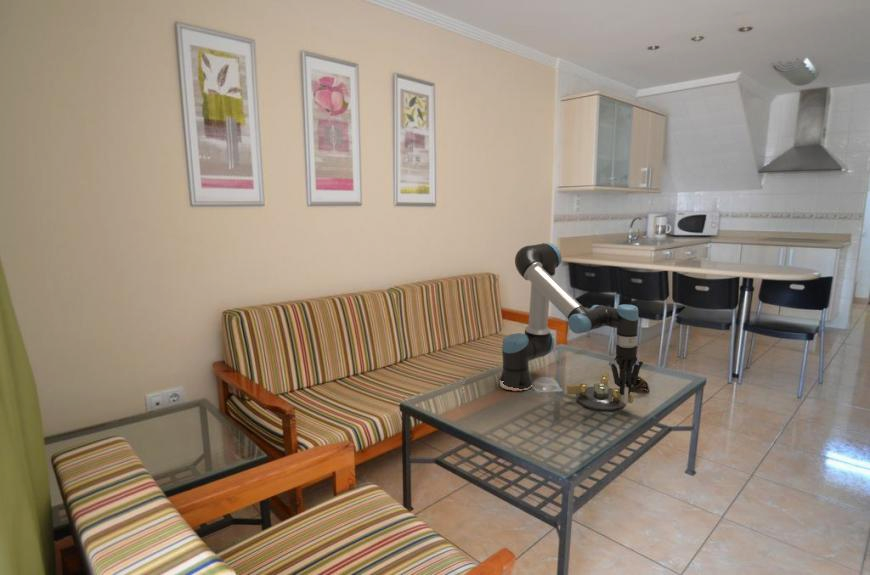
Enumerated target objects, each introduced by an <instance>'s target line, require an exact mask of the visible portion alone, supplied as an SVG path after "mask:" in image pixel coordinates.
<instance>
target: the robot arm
mask: <svg viewBox="0 0 870 575" xmlns="http://www.w3.org/2000/svg"><path fill="white" fill-rule="evenodd" d="M561 263H562V253H561V251H560V249H559V248H558V247H557V245H555V244H554V243H551V242H549V243H548V242H546V243H544V242H542V243H539V244H532V245H526V246H523V247H522V248H520V249H519V250H518V251H517V252H516V254H515V257H514V264H515V267H516V270H517V272H518V273H519V275H520V276H521V277H522V278H523V279H524V280H525V281H529V282H530V283H531V286H530V297H529V298H530V300H529V316H528V325H527V326H526V327H525V328H524V333H522V332H521V333H510V334H508V335H506V336H505V337H504V338H503V340H502V345H501V352H502V371H501V375H500V376H499V380H501V381H504V382H503V384H504V385H506V386H508V387H513V388H519V389H524V388H528V387H530V386H531V385H532V382H533V379H532V376H531V372H530V370H529V361H532V360H534V359H537V358H541V357H545V356H546V355H548V354H550V353H551V352H552V351H553V350H554V348H555V338H554V337H553V336H554V335H553V333H552V332H551V329H550V328H549V327H548V321H549V310H550V309H549V308H550V303H551V304H552V305H553V306H554V307H555V308H556V309H557V310H558V311H559V312H560V313H561V314H562V315H563V316H564V317H565V318H566V319H567V320H568V321H567V324H568V327H569V330H570V331H571V332H572V333H574V334H585V333H588V332H590V331H592V330H596V329H599V328H603V327H609V328H613V329H616V337H615V339H616V342H615V343H616V345H615V355H616V356H615V357H614V360H613V361H609V363H608V365H609V366H610V368H611V372H612V377H613V381H614V384H615V385H616V386H617V387H618V388H619V389H620V390H619V393H620V394H621V401H622V402H623V403H624V404H625V403H626V404H629V403H628V394H630V393H631V392H630V388H632V386H633V385H635V384H636V381H637V377H638V376H639V374H640V369H641V367H642V366H643V364H644V362H643V361H641V360H640V359H638V357H637V354H638V353H637V352H638V346H637V345H638V329H639V319H640V318H639V308H638V306H636V305H633V304H625V303H624V304H619V305H618V306H617V308H614V307H611V306H605V305H603V304H601V305H599V304H593V305H592V306H591V307H590V308H589V309H588V310H587V309H586V308H585V307H584V306H583V304H581V303H579V302H578V300H577V299H575V297H573V295H571V294H570V293H569V291H567V289H565V288H564V287H563V286H562V285H561V284H560V283H559V282H558V281H557V280H556V279H554V276H555V275H556V269H557V268H558V267H559V266H560V265H561ZM618 369H619V371H618Z"/></svg>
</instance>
